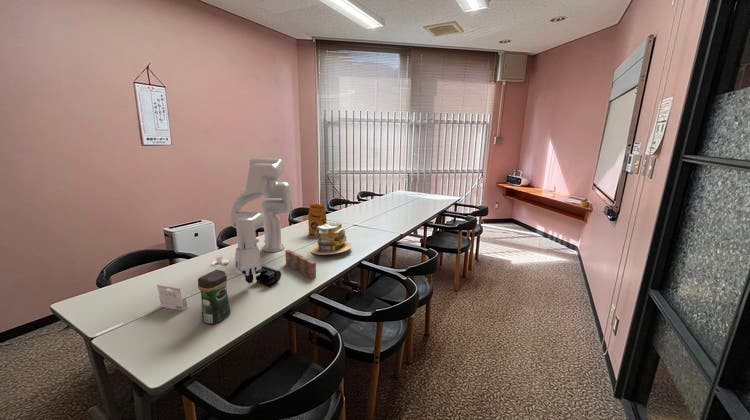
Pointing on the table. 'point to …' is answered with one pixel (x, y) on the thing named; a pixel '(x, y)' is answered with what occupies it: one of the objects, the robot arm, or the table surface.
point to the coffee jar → (214, 296)
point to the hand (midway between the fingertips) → (249, 282)
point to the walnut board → (301, 264)
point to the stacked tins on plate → (330, 239)
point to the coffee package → (316, 217)
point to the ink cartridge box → (172, 298)
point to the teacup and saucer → (220, 261)
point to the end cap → (267, 276)
